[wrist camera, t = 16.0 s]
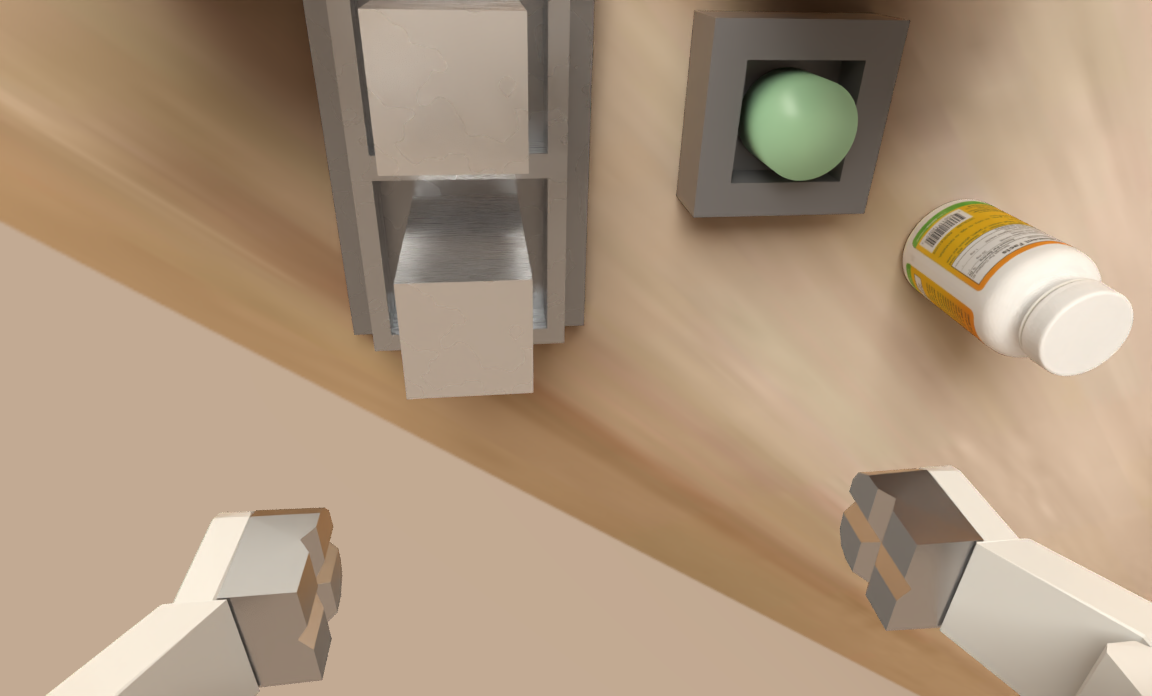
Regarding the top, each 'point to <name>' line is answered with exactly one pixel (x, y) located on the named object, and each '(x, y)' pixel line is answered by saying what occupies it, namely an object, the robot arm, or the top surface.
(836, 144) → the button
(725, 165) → the grey square frame
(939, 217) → the supplement bottle
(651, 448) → the top surface
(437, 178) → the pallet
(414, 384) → the billet
